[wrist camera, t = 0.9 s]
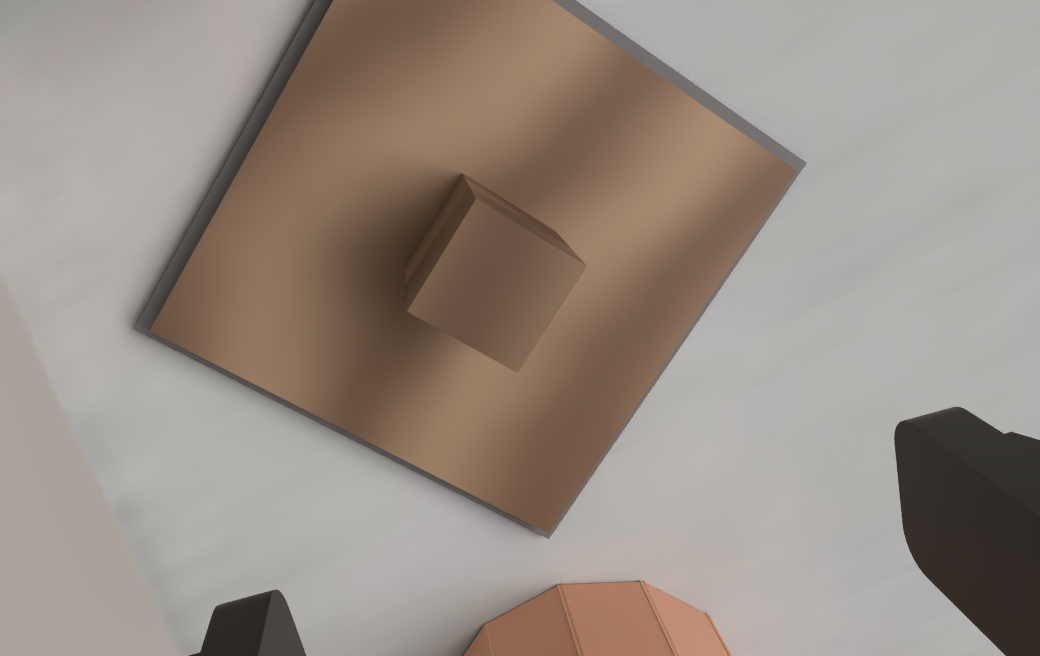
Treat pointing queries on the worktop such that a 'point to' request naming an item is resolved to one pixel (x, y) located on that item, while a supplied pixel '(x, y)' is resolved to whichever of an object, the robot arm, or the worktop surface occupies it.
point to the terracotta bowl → (600, 625)
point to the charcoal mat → (262, 114)
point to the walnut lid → (471, 240)
